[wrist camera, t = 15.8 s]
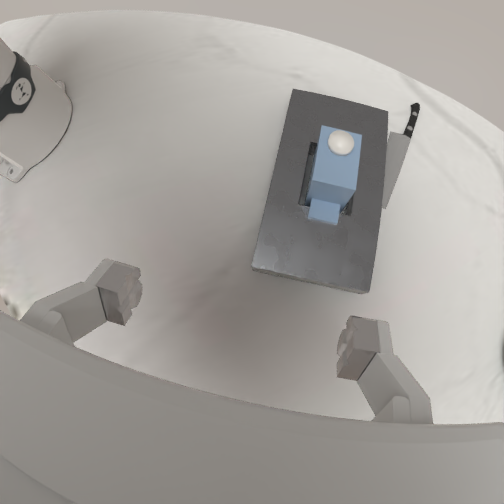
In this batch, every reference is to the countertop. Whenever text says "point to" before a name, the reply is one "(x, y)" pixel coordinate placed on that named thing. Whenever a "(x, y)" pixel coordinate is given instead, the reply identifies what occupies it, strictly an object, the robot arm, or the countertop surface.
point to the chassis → (296, 216)
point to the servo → (333, 174)
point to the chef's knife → (397, 154)
